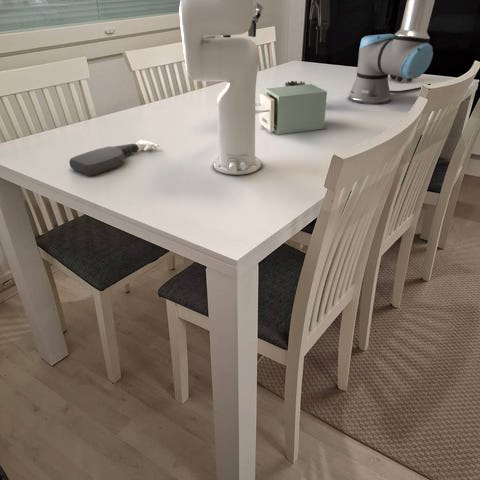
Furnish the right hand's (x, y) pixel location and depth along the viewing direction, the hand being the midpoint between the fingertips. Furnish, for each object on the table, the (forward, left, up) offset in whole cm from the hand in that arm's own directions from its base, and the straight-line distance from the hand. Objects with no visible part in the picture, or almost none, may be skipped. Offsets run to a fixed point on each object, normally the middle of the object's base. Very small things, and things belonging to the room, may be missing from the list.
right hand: (317, 50), depth 131 cm
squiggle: (-82, -13, -24) cm, 86 cm away
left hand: (+9, -24, +2) cm, 25 cm away
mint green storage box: (+1, -6, -24) cm, 25 cm away
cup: (-19, -23, -24) cm, 38 cm away
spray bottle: (+57, -24, -24) cm, 67 cm away
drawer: (+6, -9, -23) cm, 25 cm away
